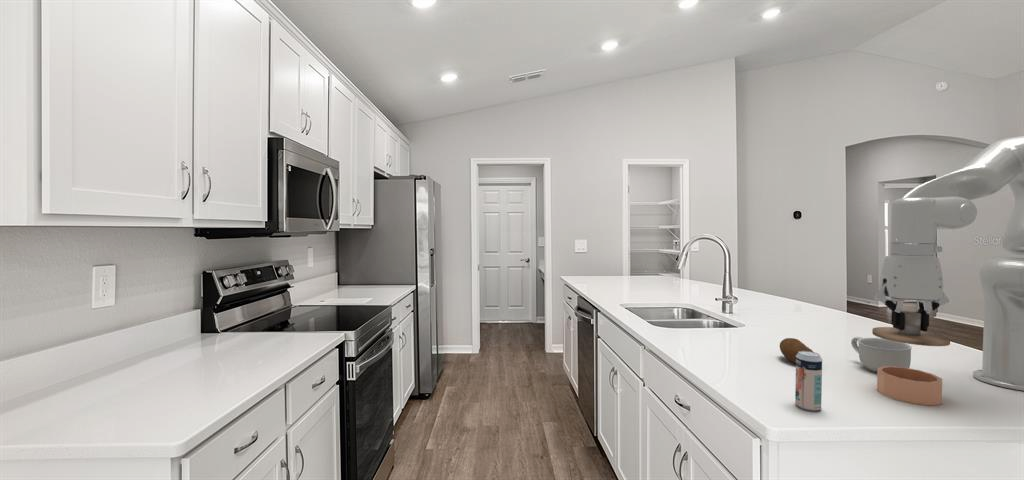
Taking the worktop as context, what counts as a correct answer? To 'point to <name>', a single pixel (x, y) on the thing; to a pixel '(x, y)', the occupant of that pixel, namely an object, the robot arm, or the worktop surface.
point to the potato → (792, 348)
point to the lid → (911, 332)
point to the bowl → (909, 385)
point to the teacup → (882, 353)
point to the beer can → (808, 380)
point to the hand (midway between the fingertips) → (909, 328)
